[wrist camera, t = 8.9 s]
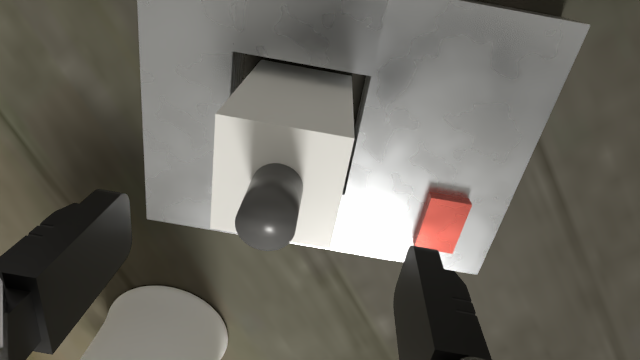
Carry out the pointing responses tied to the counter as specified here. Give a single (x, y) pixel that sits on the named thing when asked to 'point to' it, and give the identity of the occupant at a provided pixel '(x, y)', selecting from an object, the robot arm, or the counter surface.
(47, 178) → the counter surface
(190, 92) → the socket plate
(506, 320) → the counter surface
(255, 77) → the plug
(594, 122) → the counter surface
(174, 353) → the mug
